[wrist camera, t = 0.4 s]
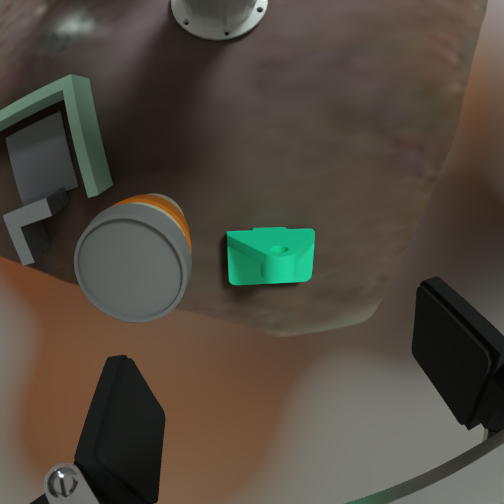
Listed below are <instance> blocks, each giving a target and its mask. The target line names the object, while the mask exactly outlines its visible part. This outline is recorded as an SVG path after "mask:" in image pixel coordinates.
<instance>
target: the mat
mask: <svg viewBox="0 0 504 504" xmlns="http://www.w3.org/2000/svg"><path fill="white" fill-rule="evenodd" d="M5 139H6V144H7V148H8V153H9V157H10V161H11V165H12V169H13V173H14V177H15V180H16V184H17V188H18V191H19V194H20V198H21V201H22V202H24V201H27V200H29V199H32V198H34V197H37V196H39V195H42V194H45V193H47V192H50V191H52V190H55V189H58V188H61V187H63V186H65V190H66V191H68V190H71V189H74V188H77V187H79V183H78V180H77V176H76V173H75V169H74V165H73V161H72V157H71V153H70V149H69V145H68V141H67V137H66V132H65V128H64V123H63V118H62V113H61V111H59V112H57V113H55V114H53V115H50V116H48V117H46V118H44V119H42V120H40V121H38V122H36V123H33V124H31V125H29V126H27V127H25V128H24V129H22V130H20V131H18V132H16V133H14V134H12V135H10V136H8V137H7V138H5Z"/></svg>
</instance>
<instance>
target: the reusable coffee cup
mask: <svg viewBox="0 0 504 504" xmlns="http://www.w3.org/2000/svg"><path fill="white" fill-rule="evenodd" d="M191 253H192V250H191V241H190V233H189V228H188V225H187V222H186V220H185V218H184V214H183V212H182V210H181V208H180V207H179V206H178V204H177V203H176V202H175V201H173V200H172V199H171V198H169V197H167V196H165V195H162V194H155V193H152V194H144V195H136V196H133V197H130V198H127V199H125V200H123V201H120V202H118V203H116V204H115V205H113V206H111V207H109V208H107V209H106V210H104V211H102V212H101V213H99V214H98V215H97V216H96V217H95V218H94V219H93V220H92V221H91V222H90V224H89V225H88V227H87V228H86V229H85V231H84V232H83V234H82V235H81V237H80V239H79V240H78V243H77V246H76V249H75V254H74V269H75V274H76V278H77V281H78V283H79V285H80V287H81V289H82V291H83V292H84V294H85V295H86V297H87V298H88V299H89V300H90V301H91V302H92V303H93V304H94V305H95V306H96V307H97V308H98V309H100V310H101V311H102V312H104V313H105V314H107V315H109V316H111V317H113V318H116V319H119V320H122V321H127V322H134V323H135V322H148V321H153V320H156V319H158V318H161V317H163V316H164V315H166V314H167V313H169V312H170V311H172V310H173V309H174V307H175V306H176V305H177V304H178V303H179V301H180V300H181V298H182V296H183V294H184V292H185V289H186V286H187V284H188V281H189V278H190V275H191V268H192V258H191Z"/></svg>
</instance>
